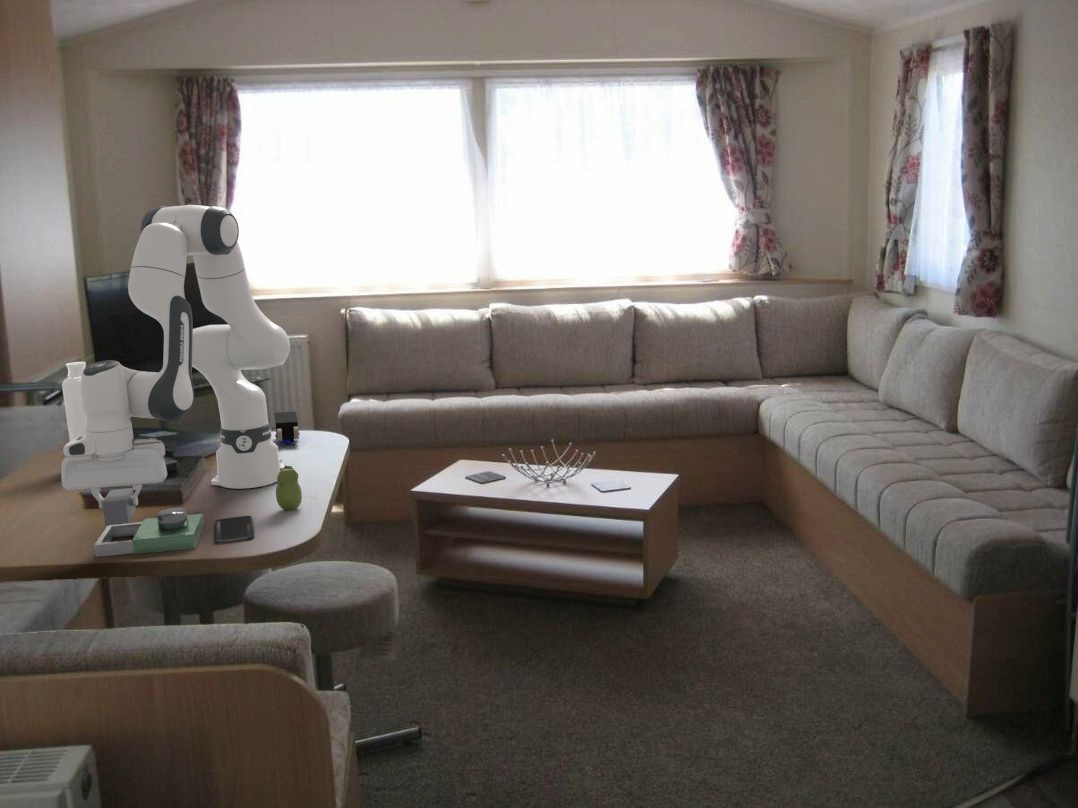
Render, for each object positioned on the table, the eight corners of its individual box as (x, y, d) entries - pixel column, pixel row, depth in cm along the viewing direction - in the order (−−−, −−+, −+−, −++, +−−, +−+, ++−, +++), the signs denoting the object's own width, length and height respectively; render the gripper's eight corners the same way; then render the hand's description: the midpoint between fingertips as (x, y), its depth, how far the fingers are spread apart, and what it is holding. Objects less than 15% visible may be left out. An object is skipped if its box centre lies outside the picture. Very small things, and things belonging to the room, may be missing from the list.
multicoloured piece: (109, 535, 239) (106, 508, 237) (203, 526, 242) (200, 500, 240) (95, 557, 225) (91, 529, 224) (195, 548, 228) (191, 520, 227)
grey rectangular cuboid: (113, 513, 235) (110, 490, 234) (135, 510, 236) (132, 487, 235) (105, 525, 227) (102, 502, 226) (128, 523, 227) (125, 499, 226)
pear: (300, 504, 254) (296, 461, 252) (305, 510, 250) (301, 467, 248) (275, 508, 252) (271, 465, 250) (280, 515, 247) (275, 471, 245)
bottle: (70, 467, 297) (56, 363, 291) (102, 461, 301) (88, 359, 295) (77, 473, 290) (62, 367, 284) (109, 467, 295) (95, 363, 289)
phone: (214, 541, 230) (215, 519, 244) (215, 546, 230) (216, 524, 244) (254, 536, 232) (252, 514, 246) (254, 541, 232) (253, 519, 246)
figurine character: (302, 451, 309) (298, 433, 322) (300, 425, 306) (296, 408, 320) (277, 454, 307) (274, 435, 321) (275, 427, 304) (271, 410, 318)
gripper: (165, 433, 232) (173, 497, 235) (62, 441, 229) (71, 506, 232) (160, 440, 226) (168, 506, 229) (54, 449, 223) (63, 515, 226)
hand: (118, 506), depth 231 cm, fingers closed on grey rectangular cuboid, 4 cm apart
